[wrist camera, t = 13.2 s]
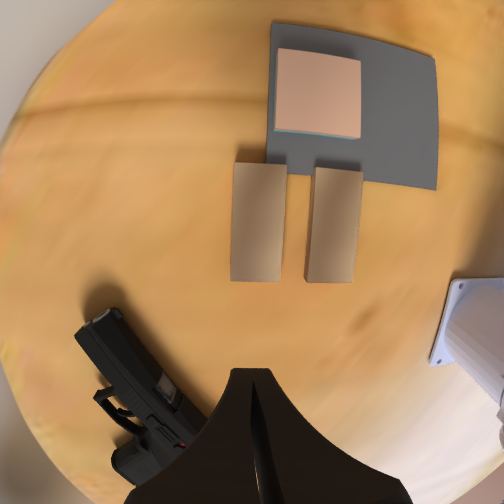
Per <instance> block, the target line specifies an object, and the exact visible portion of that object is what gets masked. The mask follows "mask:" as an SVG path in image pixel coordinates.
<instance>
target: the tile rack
mask: <svg viewBox="0 0 504 504" xmlns="http://www.w3.org/2000/svg"><path fill="white" fill-rule="evenodd" d="M286 179H287V165H279V164H262V163H239V162H234V181H233V207H232V238H231V274H230V281H242V282H280V274H281V260H282V246H283V231H284V215H285V198H286ZM362 186H363V172H358V171H349V170H339V169H329V168H319V167H314V170H313V176H312V178H311V195H310V210H309V223H308V236H307V248H306V260H305V270H304V279H305V280H306V282H307V283H352V280H353V273H354V265H355V257H356V249H357V241H358V232H359V222H360V211H361V199H362Z"/></svg>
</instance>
